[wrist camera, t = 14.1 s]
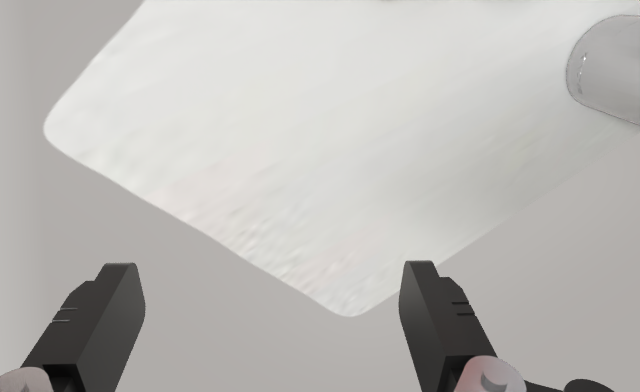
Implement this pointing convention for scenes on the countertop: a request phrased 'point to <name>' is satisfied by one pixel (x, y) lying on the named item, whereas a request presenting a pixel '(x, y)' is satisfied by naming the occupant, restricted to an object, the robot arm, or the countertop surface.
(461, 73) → the countertop surface
